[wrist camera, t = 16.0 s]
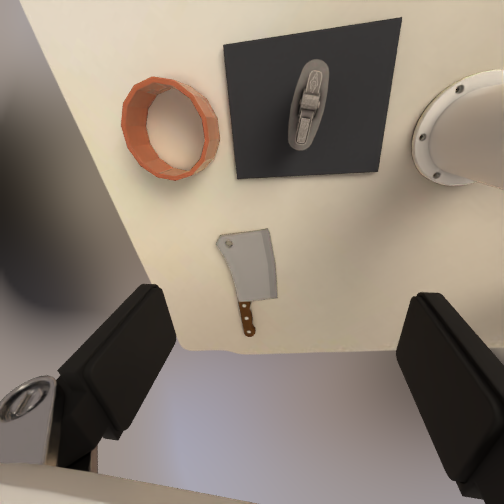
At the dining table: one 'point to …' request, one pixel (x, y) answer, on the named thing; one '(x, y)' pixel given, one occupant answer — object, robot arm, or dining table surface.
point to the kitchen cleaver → (250, 270)
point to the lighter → (308, 104)
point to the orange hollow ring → (138, 136)
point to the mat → (336, 106)
